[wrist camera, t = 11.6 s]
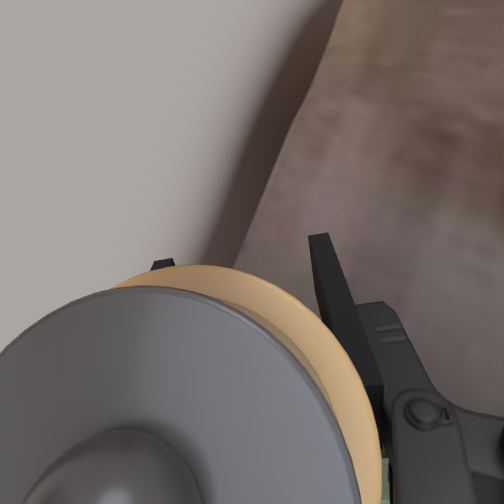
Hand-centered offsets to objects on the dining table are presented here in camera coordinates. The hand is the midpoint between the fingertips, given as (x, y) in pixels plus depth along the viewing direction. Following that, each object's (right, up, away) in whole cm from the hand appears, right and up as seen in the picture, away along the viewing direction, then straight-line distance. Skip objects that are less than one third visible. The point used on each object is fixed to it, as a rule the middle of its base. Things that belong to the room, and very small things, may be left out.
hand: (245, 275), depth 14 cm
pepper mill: (+1, -5, +6) cm, 8 cm away
